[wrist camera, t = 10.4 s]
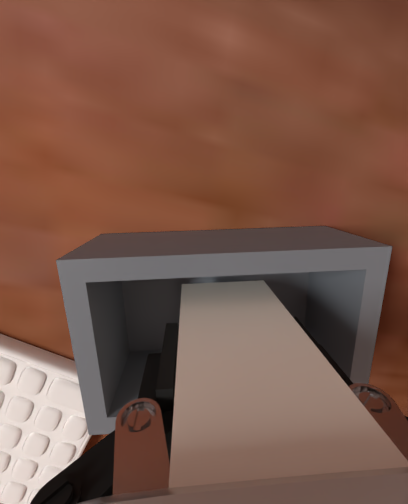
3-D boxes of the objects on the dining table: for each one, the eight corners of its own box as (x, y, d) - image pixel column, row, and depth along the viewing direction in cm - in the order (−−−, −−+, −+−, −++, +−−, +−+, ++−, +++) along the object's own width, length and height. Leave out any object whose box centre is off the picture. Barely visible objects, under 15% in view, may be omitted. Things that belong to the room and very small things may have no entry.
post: (181, 284, 14) (146, 823, 2) (263, 280, 14) (636, 747, 2) (185, 355, 15) (175, 958, 3) (260, 350, 15) (502, 898, 3)
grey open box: (101, 233, 15) (56, 260, 10) (324, 225, 16) (392, 246, 11) (118, 360, 18) (88, 435, 12) (312, 347, 18) (363, 413, 13)
